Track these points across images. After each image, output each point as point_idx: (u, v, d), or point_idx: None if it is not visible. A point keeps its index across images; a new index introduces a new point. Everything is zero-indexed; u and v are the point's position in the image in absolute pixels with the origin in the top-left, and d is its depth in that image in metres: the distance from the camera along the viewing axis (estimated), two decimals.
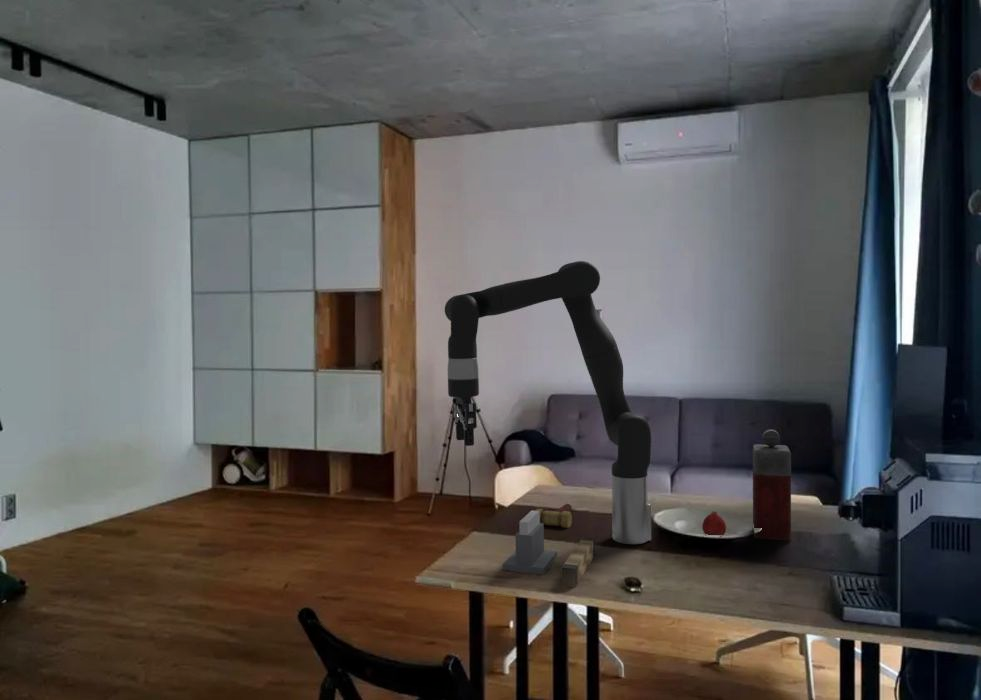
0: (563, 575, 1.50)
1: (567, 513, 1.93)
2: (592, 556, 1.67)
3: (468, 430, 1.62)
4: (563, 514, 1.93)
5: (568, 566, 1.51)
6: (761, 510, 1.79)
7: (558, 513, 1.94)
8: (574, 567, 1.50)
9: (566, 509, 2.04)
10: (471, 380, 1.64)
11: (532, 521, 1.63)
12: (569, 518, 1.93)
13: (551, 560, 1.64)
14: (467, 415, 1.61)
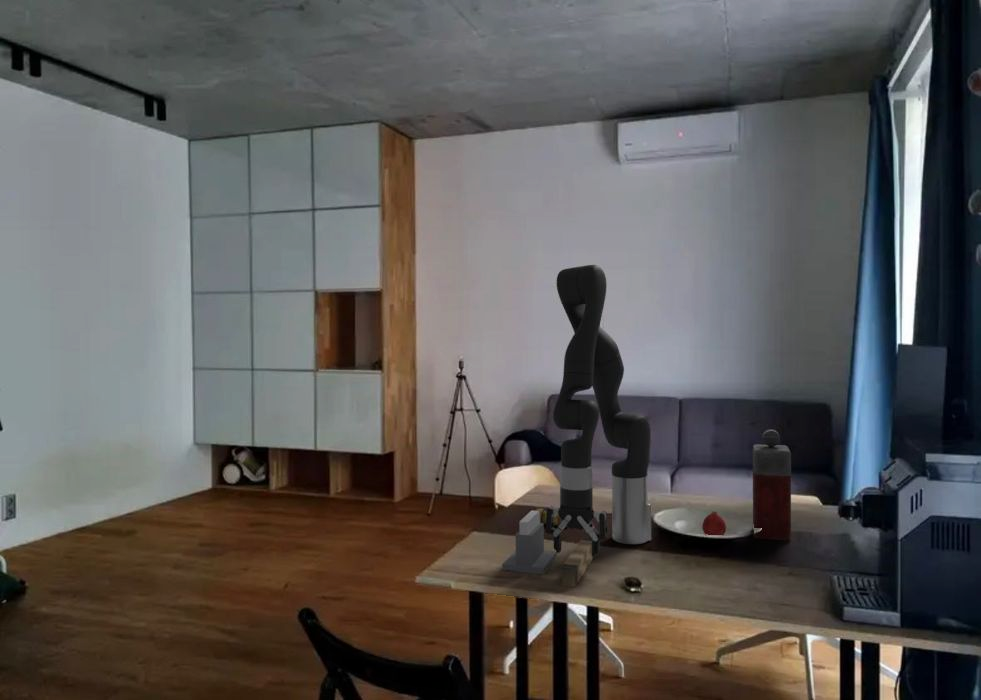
0: (563, 575, 1.50)
1: None
2: None
3: (599, 540, 1.58)
4: None
5: (568, 566, 1.51)
6: (761, 510, 1.79)
7: None
8: (574, 567, 1.50)
9: None
10: (592, 487, 1.59)
11: (532, 521, 1.63)
12: None
13: (551, 560, 1.64)
14: (605, 525, 1.57)
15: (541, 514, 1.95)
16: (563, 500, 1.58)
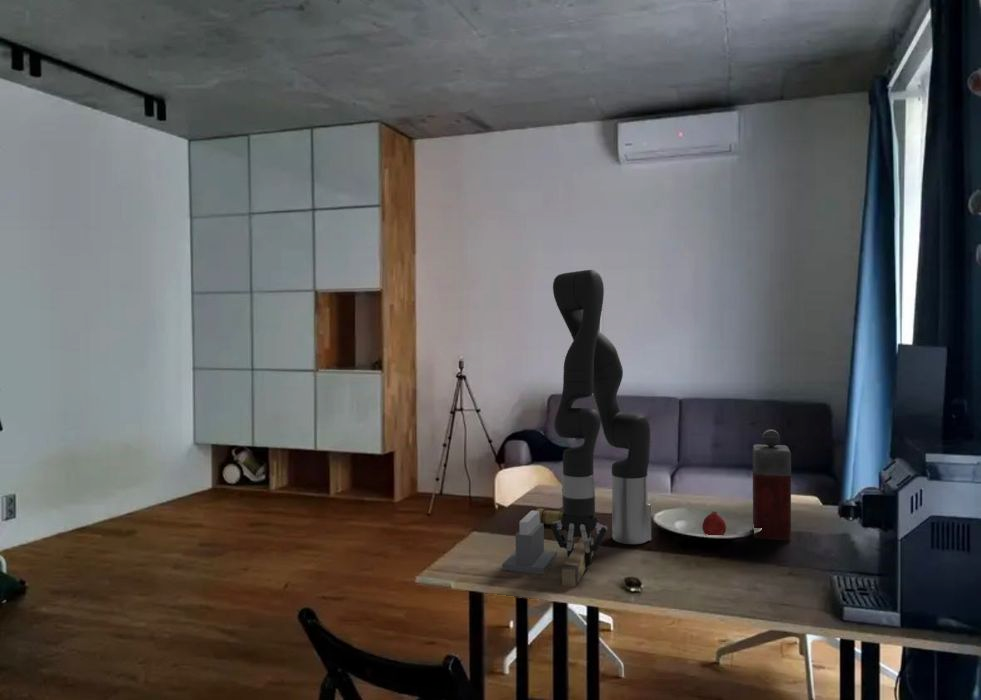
0: (563, 576, 1.50)
1: None
2: (592, 553, 1.67)
3: (591, 551, 1.59)
4: None
5: (568, 567, 1.51)
6: (761, 510, 1.79)
7: (559, 513, 1.94)
8: (574, 568, 1.50)
9: None
10: None
11: (532, 521, 1.63)
12: None
13: (551, 560, 1.64)
14: (602, 539, 1.57)
15: (541, 514, 1.95)
16: (566, 509, 1.58)
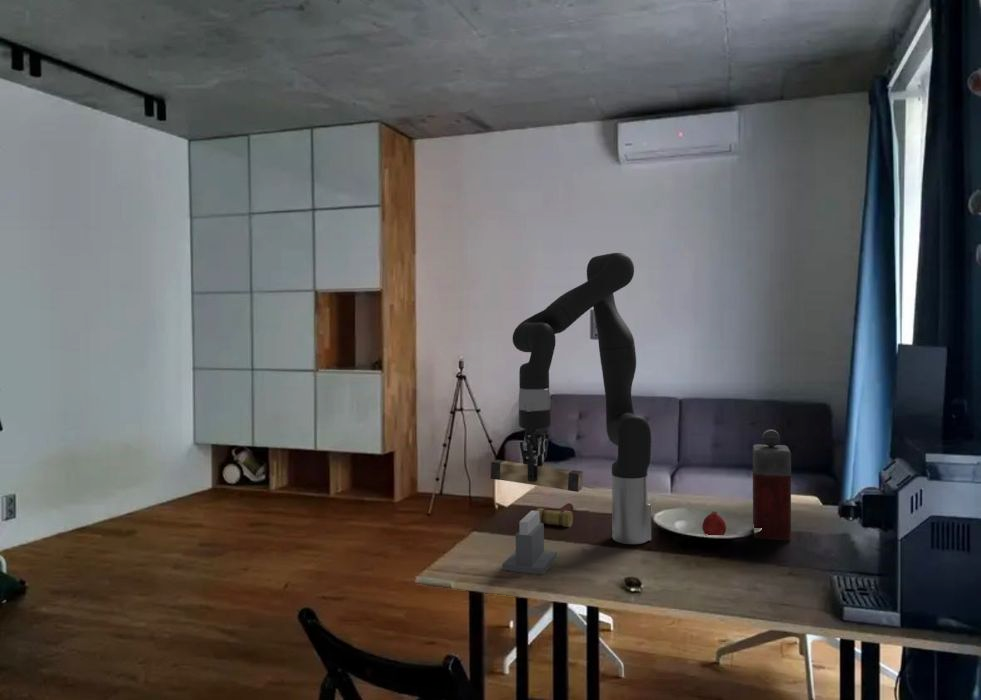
0: (579, 481, 1.57)
1: (568, 512, 1.93)
2: None
3: None
4: (564, 513, 1.93)
5: (576, 472, 1.58)
6: (761, 510, 1.79)
7: (559, 512, 1.94)
8: (578, 471, 1.59)
9: (567, 508, 2.05)
10: None
11: (532, 521, 1.63)
12: (570, 517, 1.93)
13: (551, 560, 1.64)
14: None
15: (542, 514, 1.95)
16: (542, 422, 1.59)
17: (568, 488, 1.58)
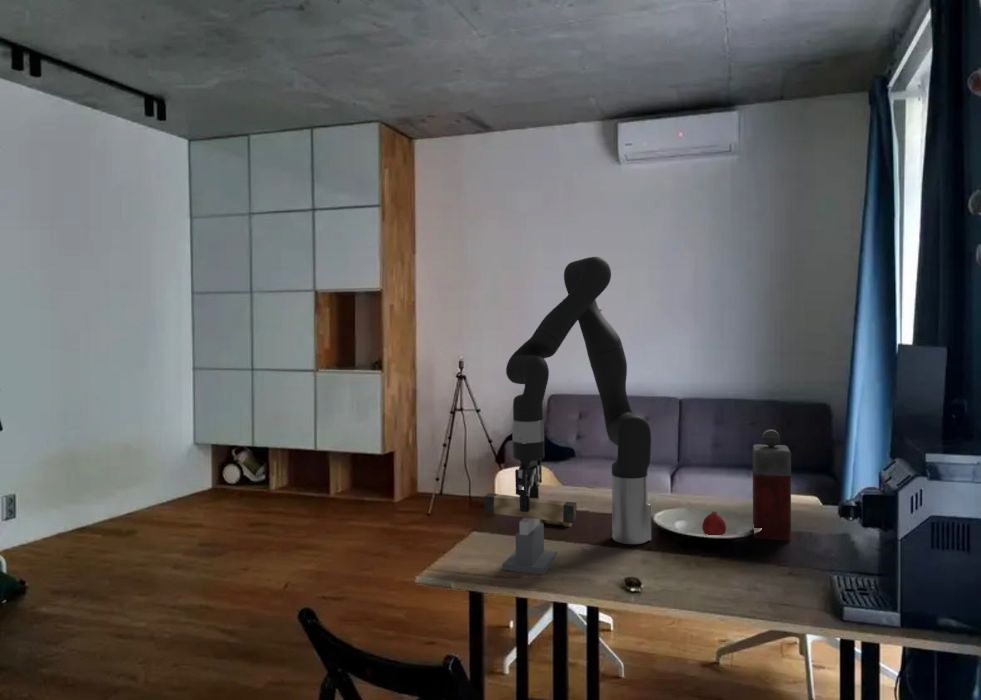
0: (573, 513, 1.59)
1: None
2: None
3: None
4: None
5: (571, 504, 1.60)
6: (761, 510, 1.79)
7: None
8: (572, 502, 1.62)
9: None
10: None
11: (532, 521, 1.63)
12: None
13: (551, 560, 1.64)
14: None
15: None
16: (537, 454, 1.60)
17: (563, 520, 1.60)
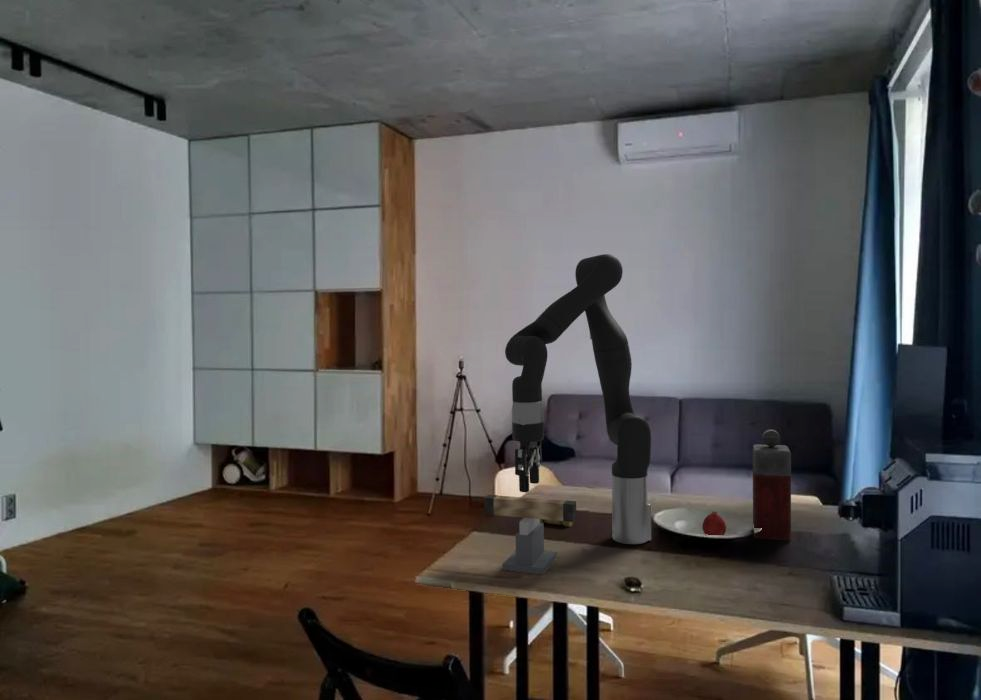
0: (573, 511, 1.59)
1: None
2: None
3: None
4: None
5: (570, 502, 1.60)
6: (761, 510, 1.79)
7: None
8: (572, 501, 1.62)
9: None
10: None
11: (532, 521, 1.63)
12: None
13: (551, 560, 1.64)
14: None
15: None
16: (537, 435, 1.60)
17: (563, 519, 1.60)
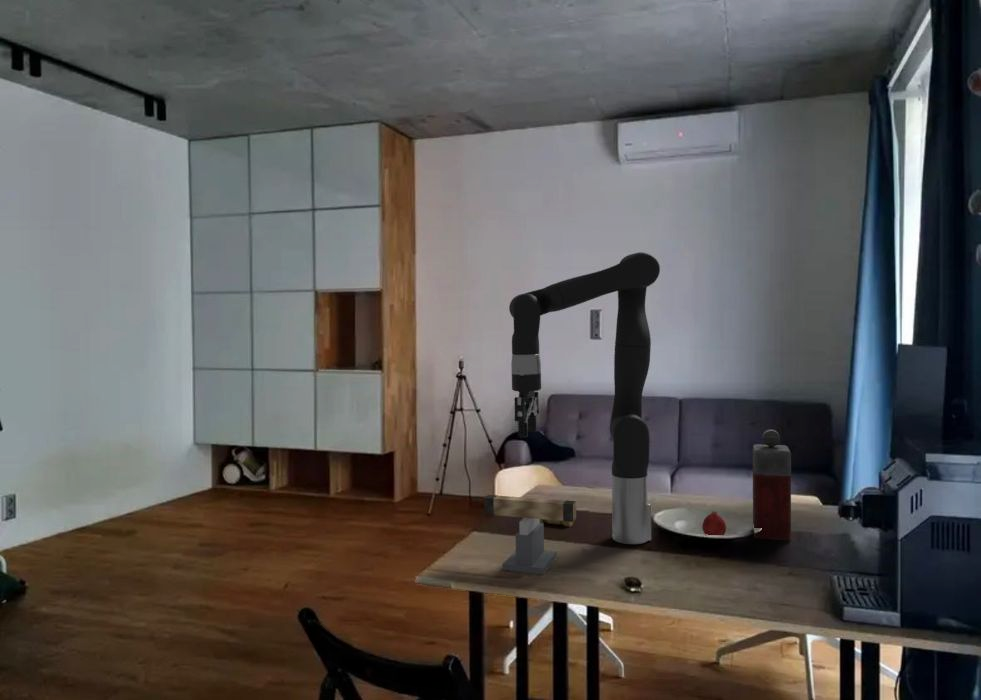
0: (573, 511, 1.59)
1: None
2: None
3: None
4: None
5: (570, 502, 1.60)
6: (761, 510, 1.79)
7: None
8: (572, 501, 1.62)
9: None
10: None
11: (532, 521, 1.63)
12: None
13: (551, 560, 1.64)
14: None
15: None
16: (535, 385, 1.73)
17: (563, 519, 1.60)
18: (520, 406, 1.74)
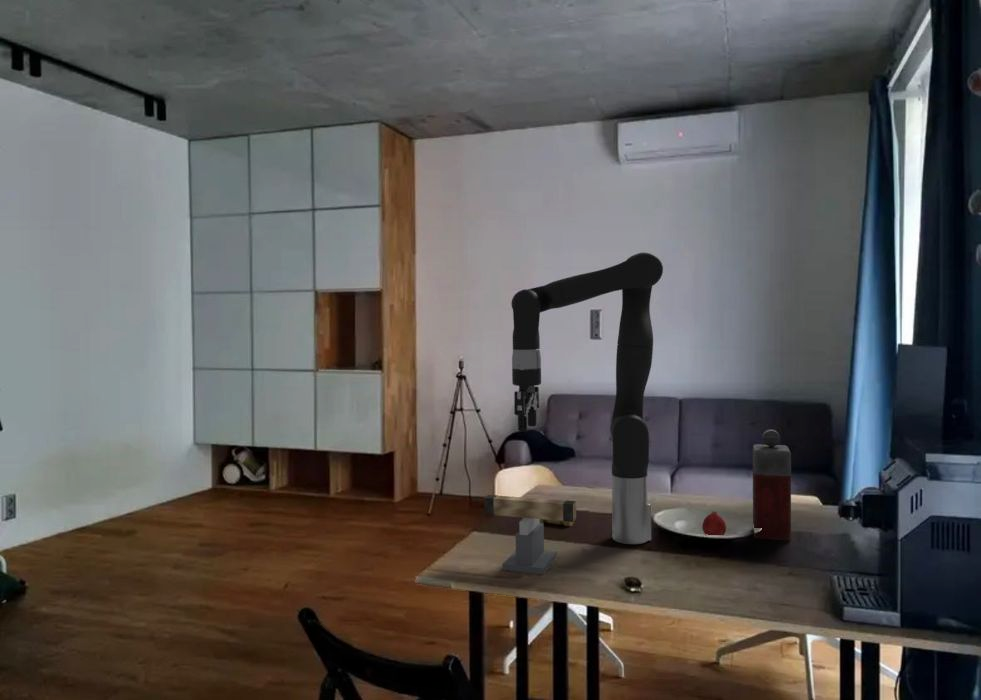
0: (573, 511, 1.59)
1: None
2: None
3: None
4: None
5: (570, 502, 1.60)
6: (761, 510, 1.79)
7: None
8: (572, 501, 1.62)
9: None
10: None
11: (532, 521, 1.63)
12: None
13: (551, 560, 1.64)
14: None
15: None
16: (535, 379, 1.75)
17: (563, 519, 1.60)
18: (520, 400, 1.76)
